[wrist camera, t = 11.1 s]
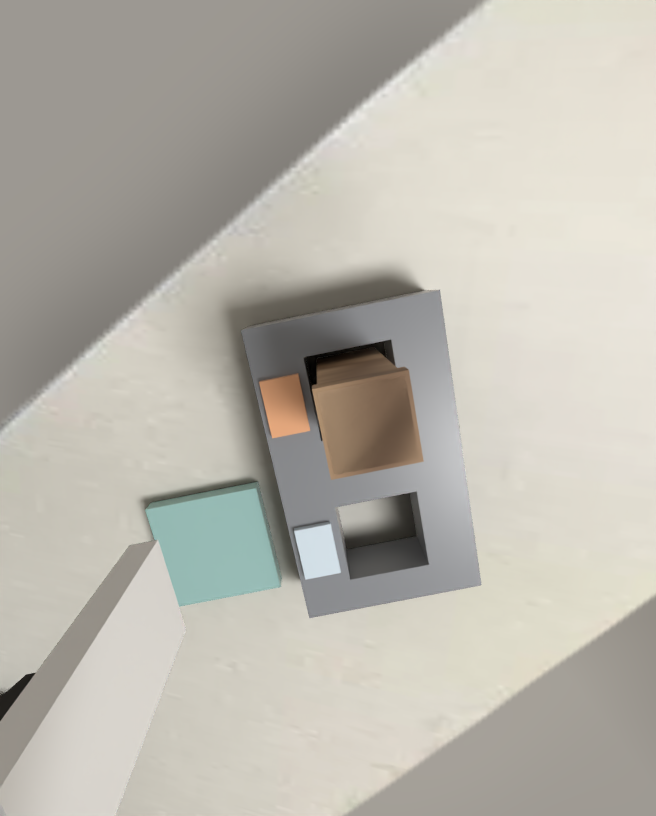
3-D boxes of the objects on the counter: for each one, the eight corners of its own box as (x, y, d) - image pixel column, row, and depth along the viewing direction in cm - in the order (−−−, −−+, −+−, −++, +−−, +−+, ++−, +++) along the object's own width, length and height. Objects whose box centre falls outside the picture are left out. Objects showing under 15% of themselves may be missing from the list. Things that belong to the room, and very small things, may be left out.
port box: (310, 584, 37) (309, 621, 33) (249, 326, 33) (240, 330, 29) (464, 554, 37) (483, 588, 33) (424, 290, 33) (441, 289, 28)
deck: (179, 597, 37) (175, 607, 36) (150, 502, 36) (145, 509, 34) (281, 577, 37) (280, 587, 36) (257, 481, 35) (256, 488, 34)
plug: (325, 416, 34) (330, 479, 23) (312, 356, 33) (311, 389, 22) (386, 404, 34) (423, 461, 23) (375, 343, 33) (408, 369, 22)
